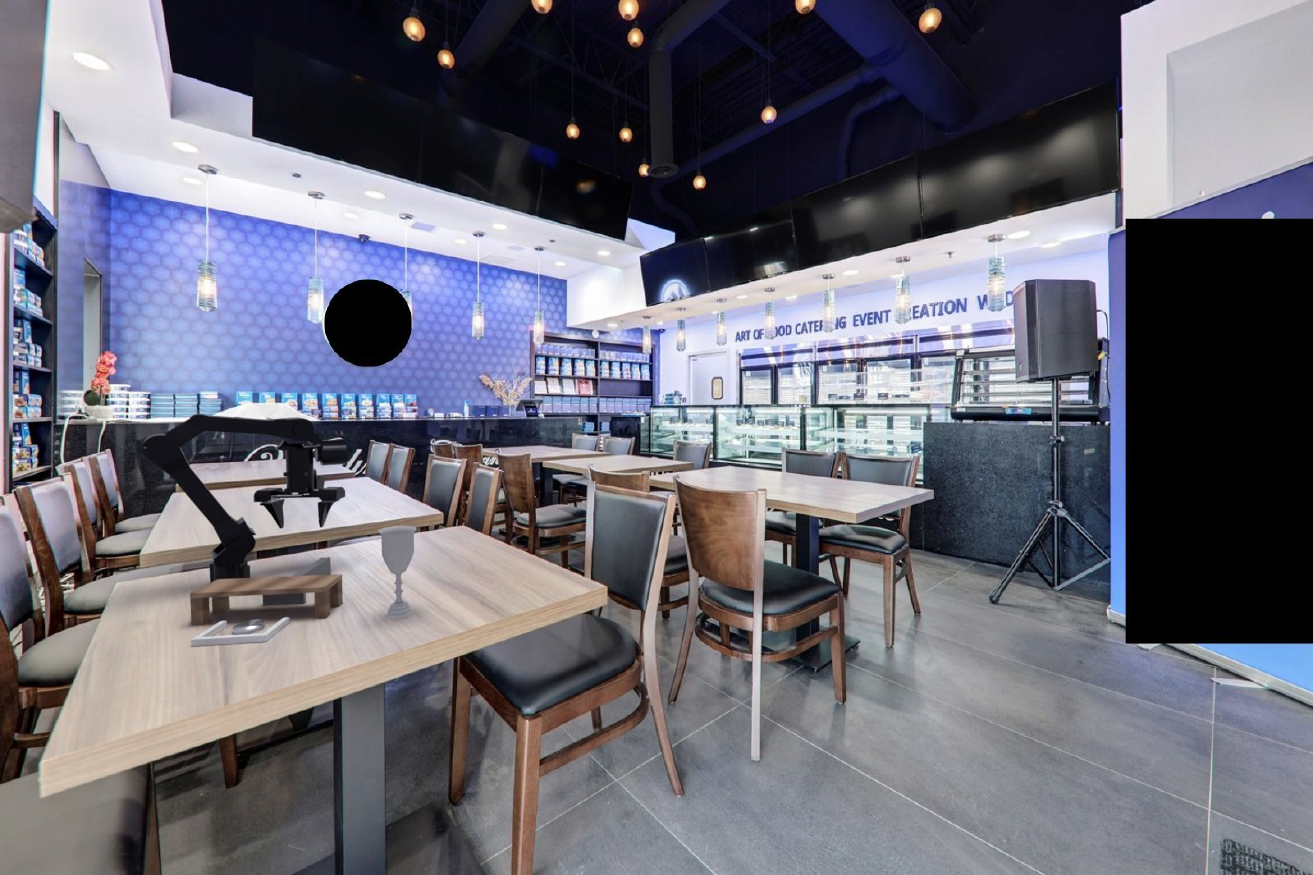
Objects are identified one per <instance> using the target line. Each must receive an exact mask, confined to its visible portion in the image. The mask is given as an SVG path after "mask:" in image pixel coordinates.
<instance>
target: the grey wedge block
mask: <svg viewBox="0 0 1313 875" xmlns="http://www.w3.org/2000/svg"><path fill="white" fill-rule="evenodd" d="M331 570H332V569H331V557H330V556H329V557H328V556H327V557H326V556H325V557H320V558H319V559H317V560H315V561H314V562H312V563H310V564H309V565H307V566H306V567H305V568H303V569H301V570H299V571H298V572H296V573H295V574H293V575H292V576H311V575H332V573H331V572H332V571H331ZM306 603H307V593H293V594H271V595H262V607H268V606H269V607H270V605H272V606H288V605H291V606H294V605H305V604H306Z"/></svg>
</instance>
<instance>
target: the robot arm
mask: <svg viewBox="0 0 1313 875" xmlns="http://www.w3.org/2000/svg"><path fill="white" fill-rule="evenodd" d="M203 432H219V433H220V432H221V433H222V432H223V433H235V434H253V435H267V436H268V435H269V436H273V437H278V438H281V439H283V440H282V441H281V442H280V443H279V444H278V445H276V446H275V450H277V451H285V471H284V472H283V473H282V474H283V477H285V478H286V479H285V481H286V488H282V487H266V488H261V489H257V490H256V491H255V492H254V494H253V495H252V496H253V503H259V506H261V507H262V506H263V507H264V508H265V509H266V511H267V512H268V513H269V514H270V516H271V517H272V518H273V520H274V522H275V523H276V525H277V527H278V529H284V526H285V518H284V515H285V514H284V503H285V499H299V498H300V499H304V498H305V499H308V498H310V499H312V498H315V499H316V498H317V499H319V500H320V501H318V502H317V512H318V513H317V514H318V515H317V516H318V524H319V528H321V529H322V528H323V527H324V526H325V524H326V521H327V518H328V515H329V512H330V511H331V508H332V506H333V505H334V503H336V502H340V499H344V498H346V489H345V488H344V487H343V486H326V487H325V481H326V478H324V477H322V476H320V475H317V474H318V473H317V469H316V468H314V461H315V462H316V463H319V464H320V465H321V466H335V465H336V466H338V465H347V464H348V462H349V451H348V448H347V444H346V439H344V438H336V439H322V438H321V437H320V436H319V435H318V434H317V432H315V427H314V424H313V423H312V421H311V420H309V419H307V418H303V417H299V416H298V417H296V416H295V417H284V418H283V417H282V418H281V417H280V418H271V419H270V418H269V419H265V418H263V419H262V418H252V417H251V418H250V417H249V418H248V417H240V416H238V417H237V416H224V415H223V416H221V415H212V414H211V415H209V414H204V413H195V414H192V415H191V416H189V418H188V419H186V420H185V421H183V422H181V423H179V424H178V425H176V426H174V427H173V428H171V429H170V430H168V431H167V432H166V431H165V433H156V434H152V435H150V436H148V437H147V438H146V439H144V441H143V442H142V445H141V452H142V454H143V456H144V457H145V458H146V459H147V460H149V461H150V462H151V463H153V464H154V465H155V466H156V467H157V468H159V469H160V470H161V471H162V472H164V473H165V474H166V475H168V476H169V477H171V478H172V480H174V482H175V483H176V484H177V485H178V486H179V487H180V489H181V490H182V492H184V493H185V495H186V496H187V498H189V499H190V501H191V502H192V503H193V505H194V506H195V507H196V508H197V510H198V511H200V513H201V514H202V515H203V516H204V517H205V518H206V520H207V521H208V522H209V523H210V525H211V526H212V527H213V529H214V531H215V533H216V535H217V537H218V539H219V541H220V543H219V544H218V545H217V546H215V548H213V549H212V550H211V552H210V553H211V554H210V555H211V557H212V560H213V561H212V562H211V563H209V566H208V567H209V583H211V582H213V581H215V580H217V579H237V578H251V565H250V564H248V563H249V562H248V558H246V557H247V555H248V554H250V553H251V552H253V551H254V549H255V547H256V543H257V541H256V539H255V537H254V536H257V534H256V532H255V530H254V528H253V527H249V525H248V524H247V522H246V520H245V518H244V516H241V517H240V518H238V519H236V518H234V517H233V516H232V515H230V514H229V513H228V511H227V510H226V509H225V508H224V506H222V504H221V503H220V502H219V501H218V499H217V498H216V497H215V496H214V494H213V493H212V492H211V491H210V489H208V487H207V486H206V484H205V483H204V482H203V481H202V480H201V478H200V477H199V476H198V475H197V474H196V473H195V471H194V470H193V468H192V467H191V466H190V464H189V462H188V460H187V458H186V456H185V453H184V452H183V450H182V448H181V447H183V446H185V444H188V443H189V442H191V440H193V439H194V438H196V437H197V436H198V435H200V434H202V433H203ZM285 439H286V440H285ZM287 439H288V440H293V441H296V442H288V441H287ZM297 441H298V442H297ZM303 441H304V442H307V443H309V444H310V445H306V446H305V445H304V444H303ZM314 459H315V460H314Z"/></svg>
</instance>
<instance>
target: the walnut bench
mask: <svg viewBox="0 0 1313 875" xmlns="http://www.w3.org/2000/svg"><path fill="white" fill-rule="evenodd" d="M293 593H306V594H308V593H314V595H313V596H314V618H315V619H317V620H320V619H327V618H328V617H329V616H330V615H331V608H339V607H341V605H342V604H343V603H344V601H343V594H344V593H343V574H342V573H341V574H340V573H339V574H337V573H336V574H335V573H334V574H330V575H311V576H293V575H291V576H290V575H289V576H288V575H287V576H267V577H266V576H265V577H263V576H262V577H250V578H237V579H217V580H215V581H213V582H211V583H210V582H209V583H207V584H205V585H204V586H202V587H200V588H197V589H195V590H194V591H192V592H190V593H189V600H190V601H189V602H190V618H191V619H190V620H191V621H190V624H191V626H192V627H193V626H204V625H205V624H207V623H209V622H210V621H211V614H220V613H221V614H223V613H225V612H226V611H228V610H230V609H231V608H230V597H245V596H246V597H247V596H263V595H271V594H293ZM210 598H211V607H210ZM210 609H211V610H210ZM211 612H212V613H211Z"/></svg>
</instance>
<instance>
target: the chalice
mask: <svg viewBox="0 0 1313 875" xmlns="http://www.w3.org/2000/svg"><path fill="white" fill-rule="evenodd" d="M416 531H417V527H416V526H411V525H395V526H387V527H383V528H380V529H379V530H378V534H379V535H380V538H381V557H382V559H383V561H384V564H385V565H386V568H388V570H389V572H390V573H391V574H392V575H395V581H394V585H395V588H396V589H395V591H393V593H394V594H395V597H396V598H395V600H394V602H393V603H391V604H390V606H388V607H389V608H388V609H387V613H386V614H385V618H386V619H387V620H400V619H404V618H407V617H408V618H409V616H411V615H412V614H413V610H412V609H411V606H410V604H409V603H408V601H406V600H403V598H402V594H403V593H404V590H403V588H402V586H403V585H402V584H404V582H403V580H402V574H403V573H405V572H406V571H407V570H408V568H409V566H410V564H411V561H412V558H413V557H414V554H415V537H414V536H415V535H414V534H415V532H416Z"/></svg>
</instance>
